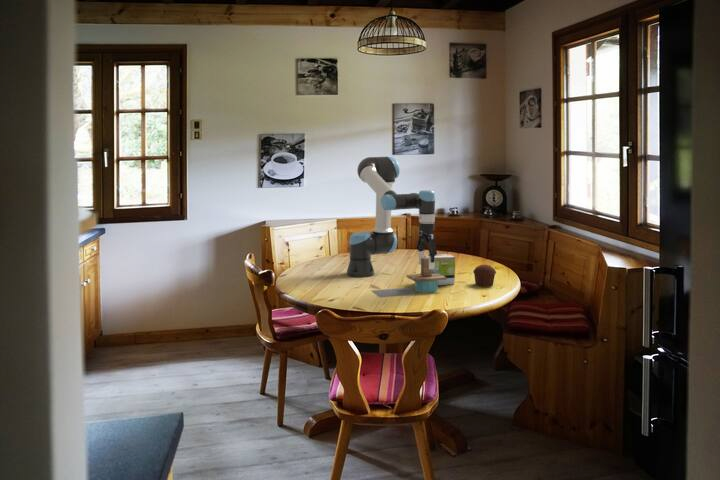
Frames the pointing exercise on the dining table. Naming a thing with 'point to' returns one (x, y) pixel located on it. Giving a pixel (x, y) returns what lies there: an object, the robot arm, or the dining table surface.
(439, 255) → the tea box
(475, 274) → the muffin
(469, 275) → the dining table surface
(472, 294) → the dining table surface
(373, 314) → the dining table surface
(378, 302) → the dining table surface
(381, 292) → the charcoal mat
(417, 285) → the teal bowl
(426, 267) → the walnut lid
